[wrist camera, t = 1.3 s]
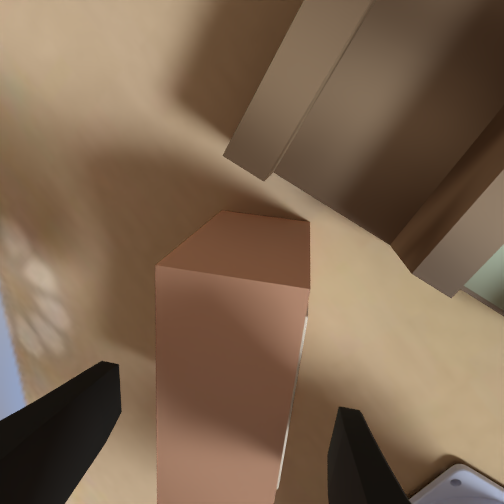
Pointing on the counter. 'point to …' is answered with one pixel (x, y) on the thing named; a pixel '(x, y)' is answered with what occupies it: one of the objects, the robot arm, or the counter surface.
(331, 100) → the rack
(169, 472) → the pink rectangular block
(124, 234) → the counter surface
